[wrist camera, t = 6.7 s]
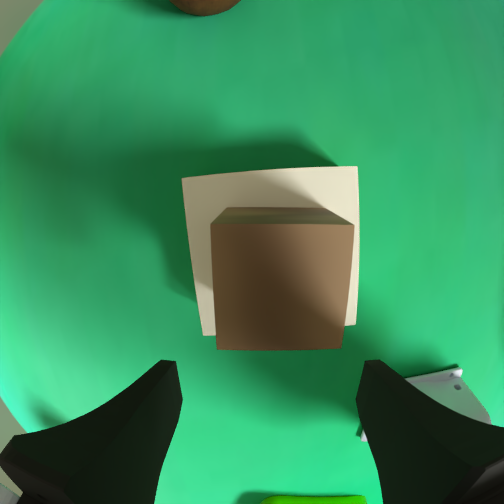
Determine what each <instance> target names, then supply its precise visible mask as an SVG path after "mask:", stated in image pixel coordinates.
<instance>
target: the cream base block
mask: <svg viewBox="0 0 504 504" xmlns="http://www.w3.org/2000/svg"><path fill="white" fill-rule="evenodd" d="M182 187H183V197H184V206H185V215H186V223H187V232H188V240H189V247H190V255H191V262H192V269H193V276H194V283H195V289H196V296H197V302H198V308H199V314H200V320H201V326H202V331H203V336H209V335H216V329H215V314H214V298H213V279H212V259H211V234H210V224H211V223H212V222H213V221H214V220H215V219H216V218H217V217H218V216H219V215H220V214H221V213H222V212H223V211H224V210H225V209H226V208H227V207H300V208H326V209H328V210H330V211H332V212H333V213H335V214H337V215H338V216H340V217H342V218H344V219H345V220H347V221H349V222H350V223H352V224H354V225H355V228H354V243H353V255H352V267H351V277H350V287H349V295H348V304H347V312H346V319H345V326H349V325H356V314H357V298H358V276H359V191H358V169H357V166H342V167H308V168H287V169H271V170H257V171H244V172H233V173H222V174H213V175H203V176H195V177H186V178H182Z"/></svg>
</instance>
